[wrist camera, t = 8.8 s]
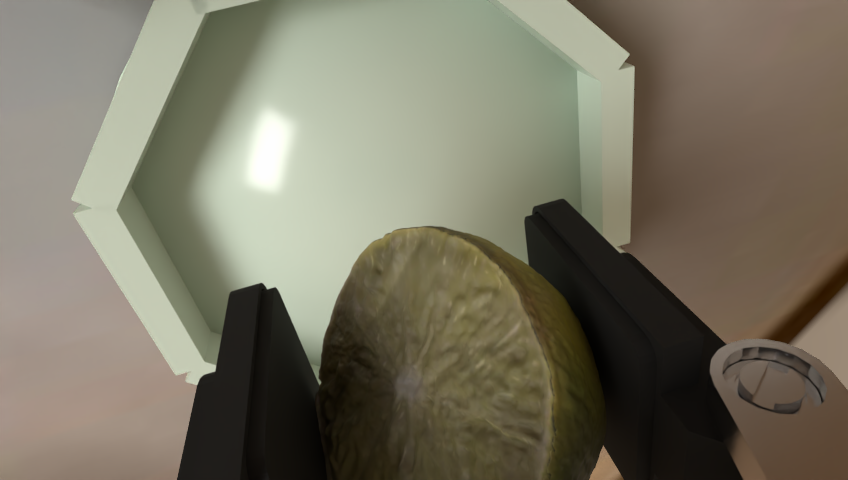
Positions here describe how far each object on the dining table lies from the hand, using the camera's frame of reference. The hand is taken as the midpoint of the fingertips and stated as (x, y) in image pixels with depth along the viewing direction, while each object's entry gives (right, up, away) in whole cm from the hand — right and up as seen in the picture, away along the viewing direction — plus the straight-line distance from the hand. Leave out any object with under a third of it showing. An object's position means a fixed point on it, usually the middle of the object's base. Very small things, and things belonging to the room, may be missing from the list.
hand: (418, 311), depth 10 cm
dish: (-1, +3, +4) cm, 5 cm away
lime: (0, 0, +1) cm, 1 cm away
